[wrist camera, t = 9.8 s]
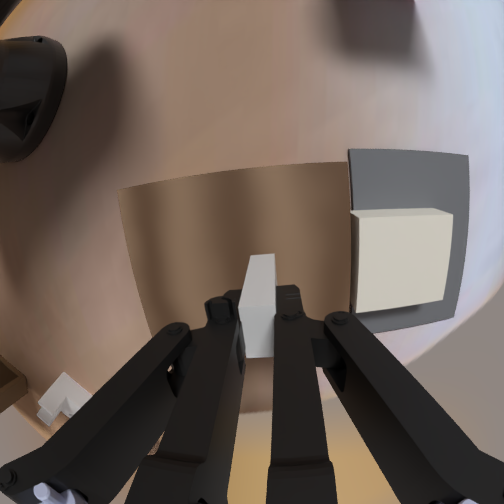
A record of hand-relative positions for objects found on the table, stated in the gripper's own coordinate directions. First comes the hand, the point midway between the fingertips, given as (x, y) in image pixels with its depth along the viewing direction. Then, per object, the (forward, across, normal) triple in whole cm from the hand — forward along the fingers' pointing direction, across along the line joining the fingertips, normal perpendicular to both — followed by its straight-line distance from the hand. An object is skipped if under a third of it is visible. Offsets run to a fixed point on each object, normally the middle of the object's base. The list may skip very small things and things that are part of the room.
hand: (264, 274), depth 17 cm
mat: (+4, +13, 0) cm, 14 cm away
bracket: (+5, -29, -23) cm, 37 cm away
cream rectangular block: (+4, +10, -1) cm, 11 cm away
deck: (+4, -2, 0) cm, 5 cm away
